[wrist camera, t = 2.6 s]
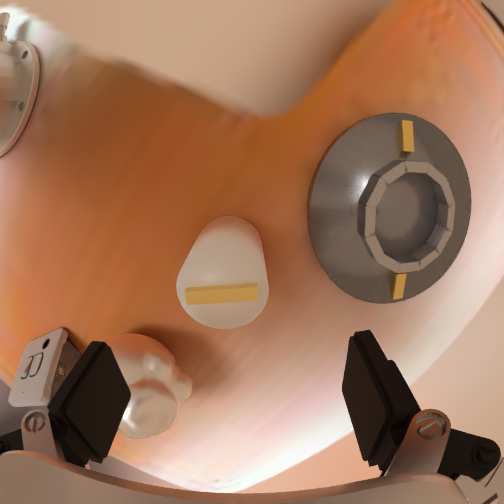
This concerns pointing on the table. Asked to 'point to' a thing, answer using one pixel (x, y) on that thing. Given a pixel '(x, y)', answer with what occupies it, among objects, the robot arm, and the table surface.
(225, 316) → the white rounded cylinder
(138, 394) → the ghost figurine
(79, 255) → the table surface
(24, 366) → the electrical switch
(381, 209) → the socket
